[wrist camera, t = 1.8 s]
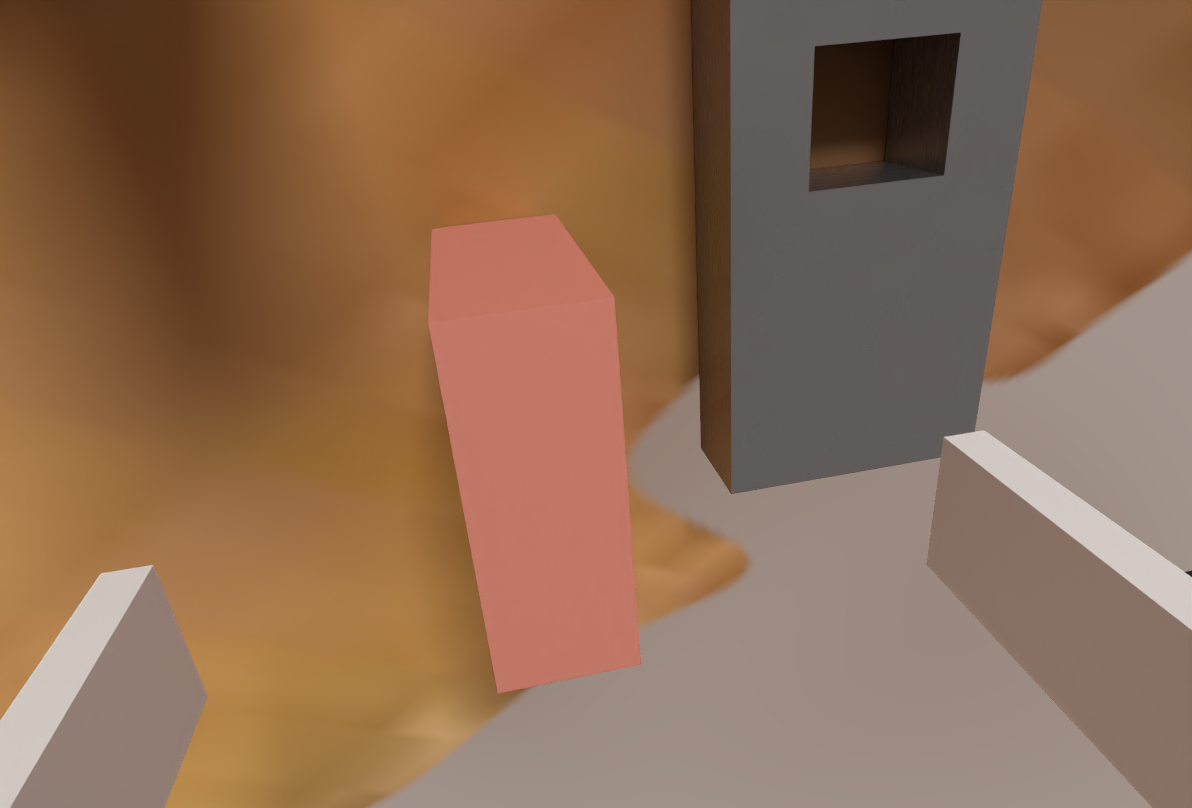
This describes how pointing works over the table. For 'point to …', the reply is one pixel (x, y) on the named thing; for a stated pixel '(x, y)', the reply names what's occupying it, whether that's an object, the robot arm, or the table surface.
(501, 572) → the pink slab
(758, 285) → the rail
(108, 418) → the table surface
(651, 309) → the table surface
